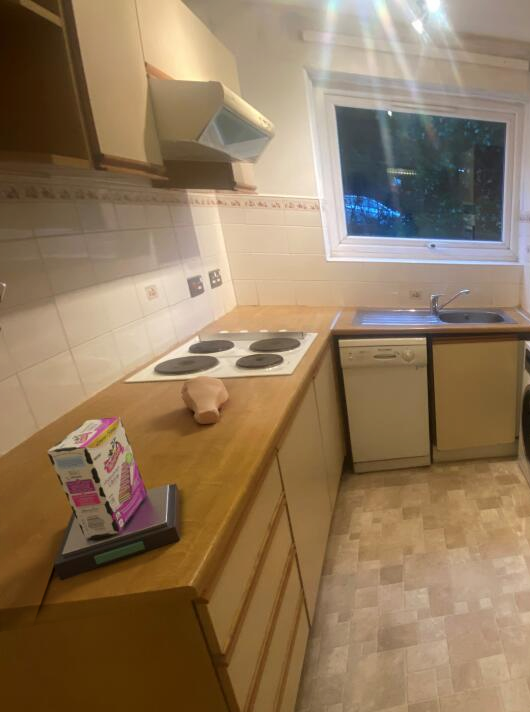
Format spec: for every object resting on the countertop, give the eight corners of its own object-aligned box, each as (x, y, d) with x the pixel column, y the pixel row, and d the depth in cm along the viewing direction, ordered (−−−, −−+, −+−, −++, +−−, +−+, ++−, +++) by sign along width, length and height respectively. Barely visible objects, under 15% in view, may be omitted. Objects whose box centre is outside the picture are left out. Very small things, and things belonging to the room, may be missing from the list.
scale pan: (63, 558, 67) (61, 554, 67) (79, 512, 77) (77, 509, 77) (167, 525, 74) (166, 521, 74) (169, 487, 84) (168, 484, 83)
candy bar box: (122, 533, 71) (85, 447, 65) (84, 540, 69) (42, 452, 63) (150, 493, 81) (121, 415, 74) (118, 498, 79) (85, 419, 73)
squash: (226, 395, 131) (225, 368, 128) (234, 429, 118) (234, 399, 114) (181, 398, 125) (179, 370, 121) (185, 434, 111) (182, 403, 108)
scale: (60, 582, 67) (52, 567, 65) (78, 525, 78) (72, 511, 77) (179, 542, 74) (174, 528, 73) (180, 495, 86) (176, 483, 85)
